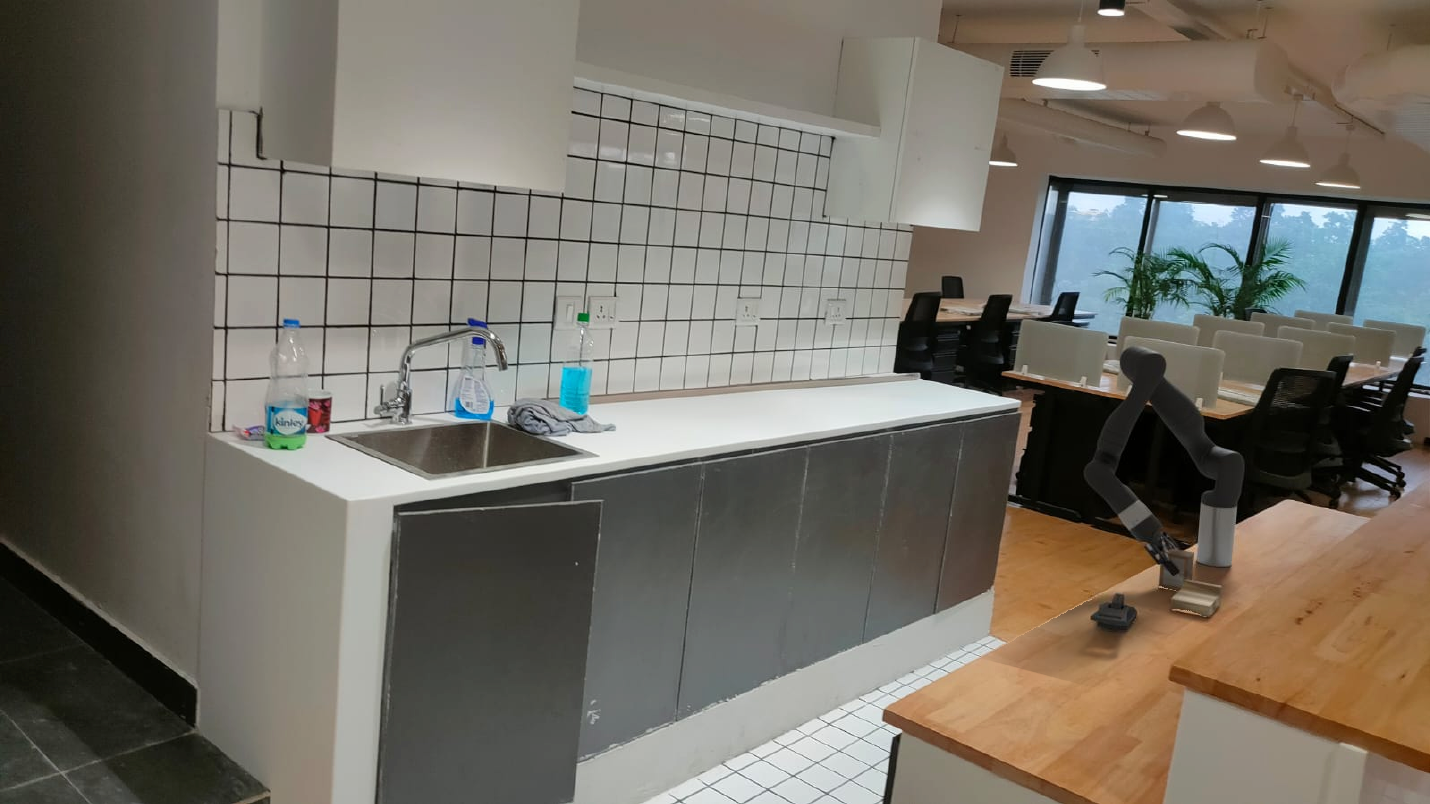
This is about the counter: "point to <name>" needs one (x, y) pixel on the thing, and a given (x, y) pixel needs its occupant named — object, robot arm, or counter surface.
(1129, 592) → the counter surface
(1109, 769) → the counter surface
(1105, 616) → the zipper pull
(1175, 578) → the frame
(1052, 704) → the counter surface
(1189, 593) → the ledge
